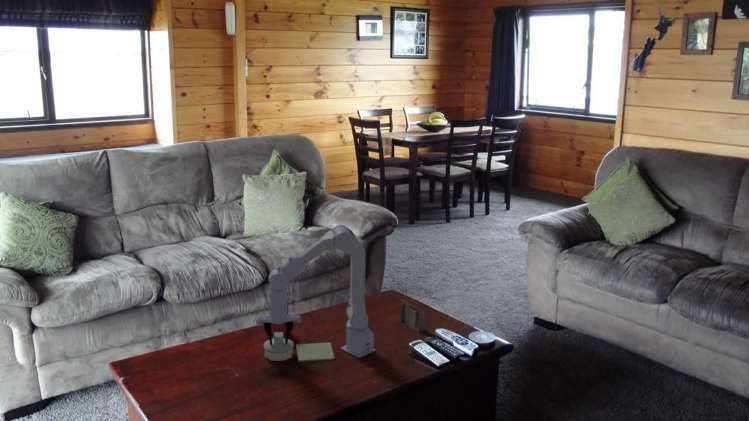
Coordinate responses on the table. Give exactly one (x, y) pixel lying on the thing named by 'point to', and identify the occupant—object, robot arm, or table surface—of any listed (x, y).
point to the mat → (314, 352)
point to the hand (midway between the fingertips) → (278, 342)
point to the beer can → (278, 326)
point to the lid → (278, 344)
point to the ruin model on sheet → (412, 316)
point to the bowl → (278, 355)
